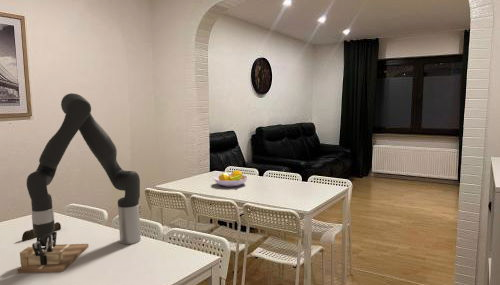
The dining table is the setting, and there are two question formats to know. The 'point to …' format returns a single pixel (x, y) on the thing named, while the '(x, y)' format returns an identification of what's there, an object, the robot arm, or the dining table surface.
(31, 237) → the hand tool
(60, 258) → the marking gauge
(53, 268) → the walnut board
